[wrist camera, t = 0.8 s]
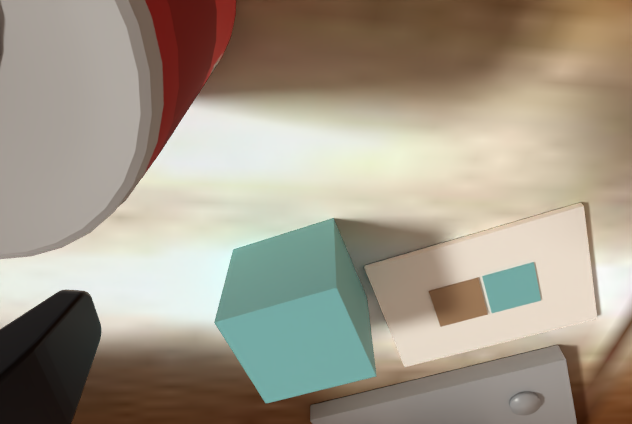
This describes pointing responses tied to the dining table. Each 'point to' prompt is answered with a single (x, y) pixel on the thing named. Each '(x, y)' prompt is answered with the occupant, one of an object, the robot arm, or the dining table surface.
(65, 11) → the canned food
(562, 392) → the plate
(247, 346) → the teal cube
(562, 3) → the dining table surface
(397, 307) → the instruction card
